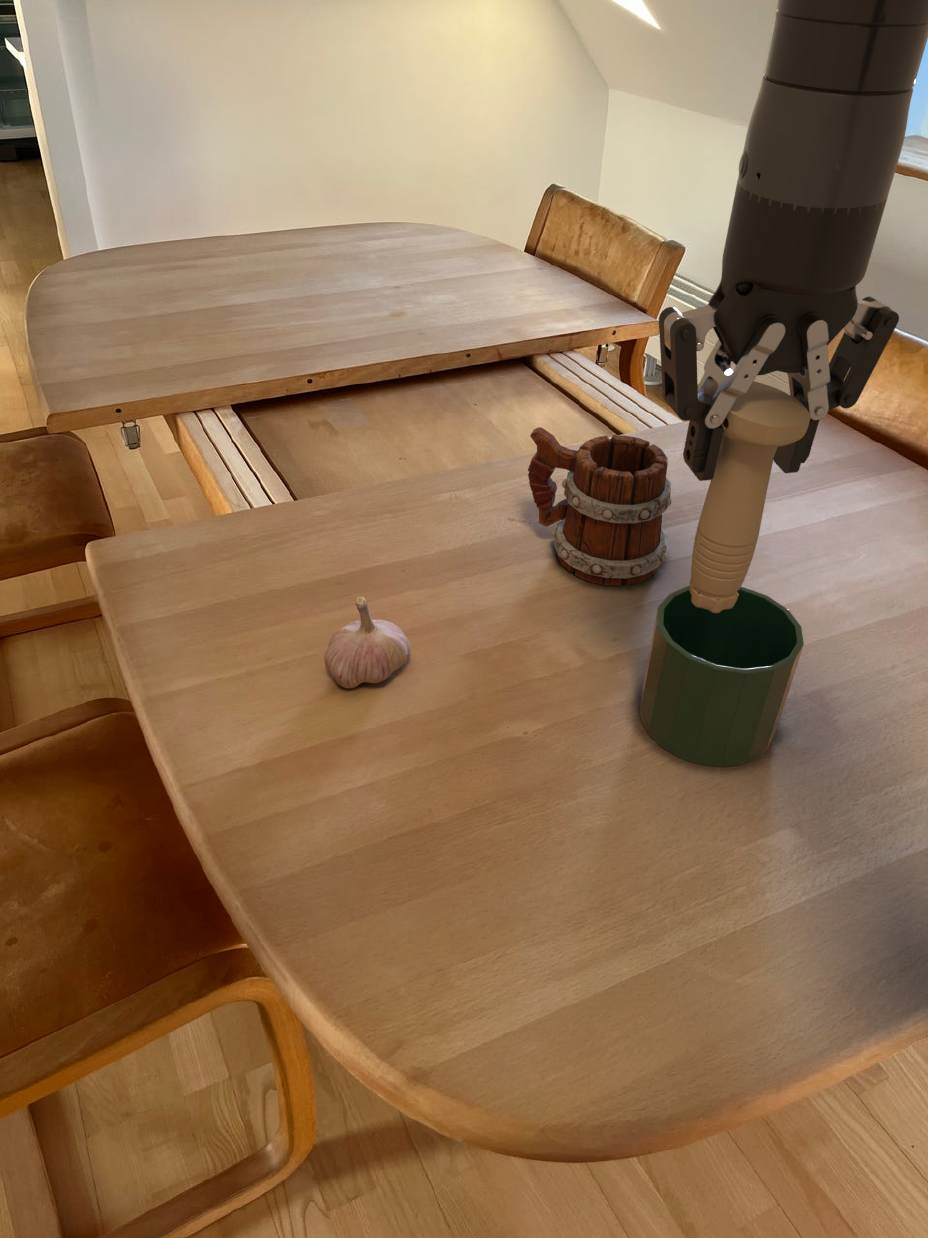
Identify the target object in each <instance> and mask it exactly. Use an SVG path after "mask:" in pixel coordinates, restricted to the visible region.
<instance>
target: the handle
mask: <svg viewBox="0 0 928 1238" xmlns="http://www.w3.org/2000/svg"><path fill="white" fill-rule="evenodd" d="M810 418H811V415H810V413H809V412H808V410H807V409H806V408H805V406H804V405H803V404H802V403H801V402H800V401H798V400H797V399H795V398H794V397H792V396H790V393H787V392H785V391H783V390H781V389H779V388H778V387H775V386H772V385H768V384H765V383H762V382H758V381H755V380H754V381H753V383H752V385H751V386H750V388H749V390H748V391H747V393H746V394H745V395H744V396H740V397H738V398H737V400H736V401H735V403H734V405H733V406H732V408H731V410H730V411H729V413H728V415H727V416H726V418H725V420H724V421H723V423H722V424H721V425H722V426H723V428H724V432H723V436H722V441H721V445H720V450H719V454H718V459H717V463H716V468H715V472H714V477H713V479H712V480H709V481H710V482H709V485H708V489H707V492H706V495H705V499H704V502H703V505H702V509H701V512H700V516H699V519H698V522H697V526H696V530H695V531H696V532H695V536H694V542H693V548H692V549H693V550H692V554H691V555H692V556H691V567H690V579H689V585H690V593H691V594H692V599H691V601H692V603H693V604H694V605H695V606H696V607H698V608H699V607H700V608H704V609H707V610H709V611H711V612H712V613H720V611H722V610H725V609H731V608H732V607H733V606H734V604H735V603H736V601H737V598H738V596H739V594H738V593H737V591H738V590H739V589H740V587H742V585H743V583H744V581H745V579H746V576H747V574H748V572H749V569H750V566H751V563H752V560H753V559H754V554H755V551H756V546H757V543H758V540H759V535H760V531H761V524H762V519H763V514H764V509H765V503H766V499H767V494H768V487H769V483H770V478H771V474H772V468H773V464H774V460H773V459H774V456H775V453H776V450H777V447H780V446H785V445H788V444H791V443H794V442H796V441H798V440H800V439H801V438H802V437H803V436H804V435H805V433H806V431H807V428H808V425H809V421H810Z"/></svg>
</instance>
